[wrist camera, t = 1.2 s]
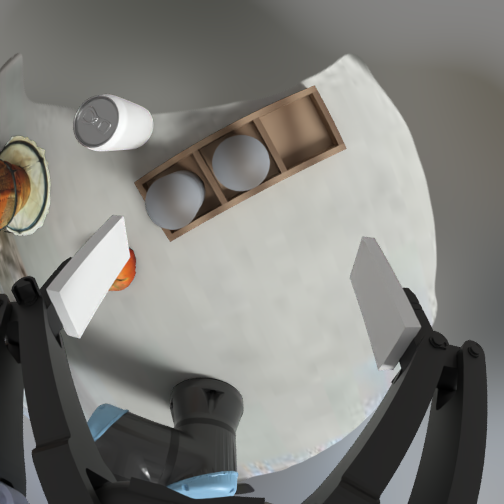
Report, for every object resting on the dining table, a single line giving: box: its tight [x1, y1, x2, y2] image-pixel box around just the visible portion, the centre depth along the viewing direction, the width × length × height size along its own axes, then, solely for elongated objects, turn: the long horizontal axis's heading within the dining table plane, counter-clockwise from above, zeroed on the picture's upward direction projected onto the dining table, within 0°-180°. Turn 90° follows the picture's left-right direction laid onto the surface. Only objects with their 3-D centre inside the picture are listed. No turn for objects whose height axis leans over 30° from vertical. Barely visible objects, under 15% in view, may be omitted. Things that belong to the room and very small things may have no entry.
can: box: [73, 94, 153, 151], centre depth 29 cm, size 6×6×12 cm
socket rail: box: [134, 86, 346, 242], centre depth 33 cm, size 27×9×9 cm, turn 118°
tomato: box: [108, 249, 136, 291], centre depth 40 cm, size 8×7×7 cm
